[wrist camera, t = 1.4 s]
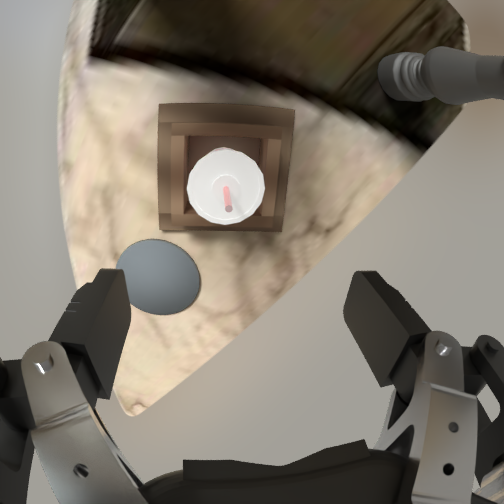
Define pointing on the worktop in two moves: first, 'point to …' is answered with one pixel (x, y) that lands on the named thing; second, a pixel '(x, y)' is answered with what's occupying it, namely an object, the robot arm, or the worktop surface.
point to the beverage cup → (225, 186)
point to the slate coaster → (159, 276)
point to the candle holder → (442, 76)
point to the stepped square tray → (222, 124)
